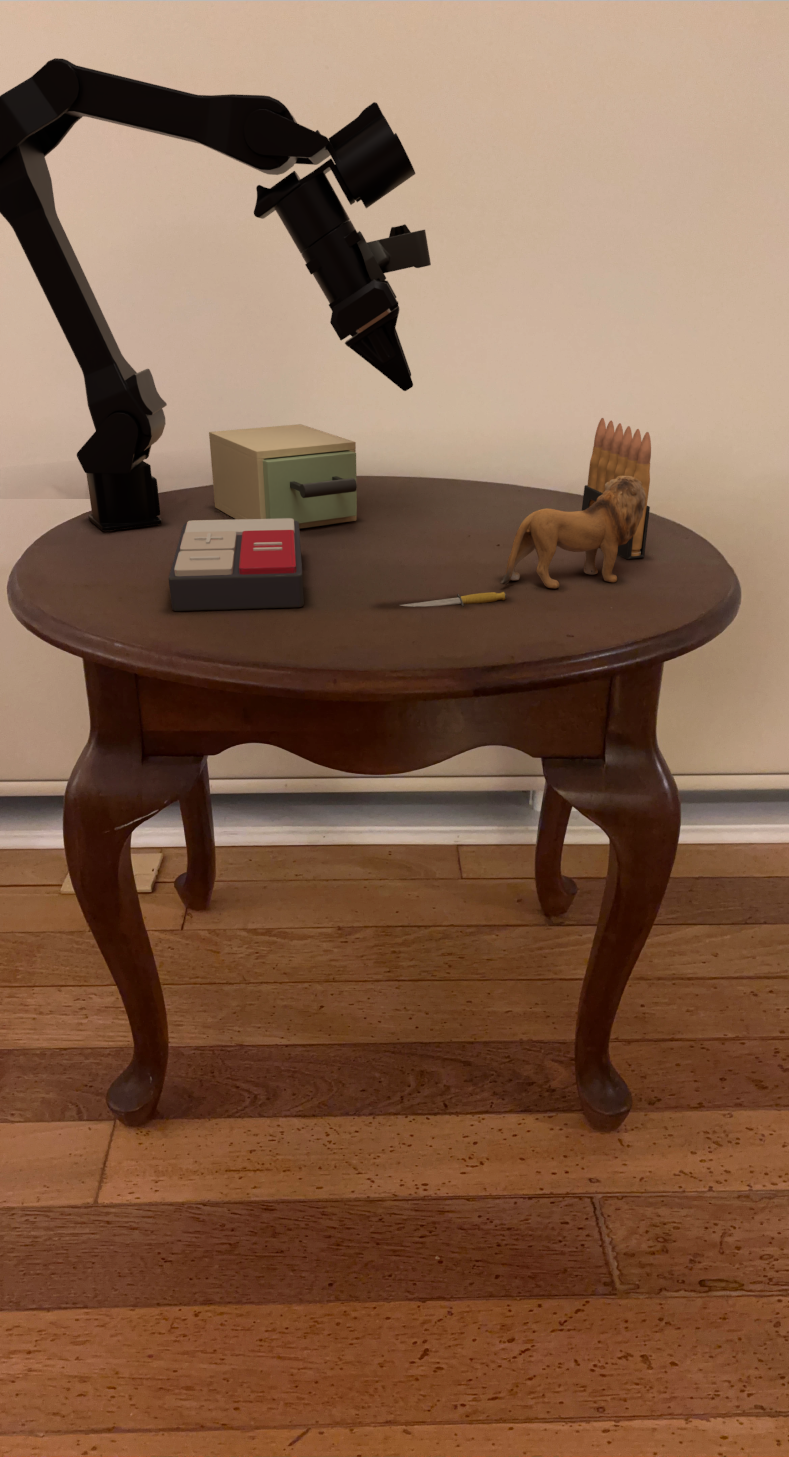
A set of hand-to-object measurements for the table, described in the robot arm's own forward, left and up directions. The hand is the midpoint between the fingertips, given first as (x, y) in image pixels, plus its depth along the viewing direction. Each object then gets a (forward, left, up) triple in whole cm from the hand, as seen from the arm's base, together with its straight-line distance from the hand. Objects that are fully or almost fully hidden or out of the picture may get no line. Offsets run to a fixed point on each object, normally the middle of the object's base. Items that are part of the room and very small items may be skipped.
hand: (408, 383), depth 96 cm
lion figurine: (+3, -24, -15) cm, 28 cm away
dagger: (-11, -24, -15) cm, 30 cm away
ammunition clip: (+14, -17, -15) cm, 27 cm away
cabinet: (-10, +11, -15) cm, 21 cm away
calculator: (-24, -10, -15) cm, 30 cm away
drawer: (-10, +7, -14) cm, 18 cm away
